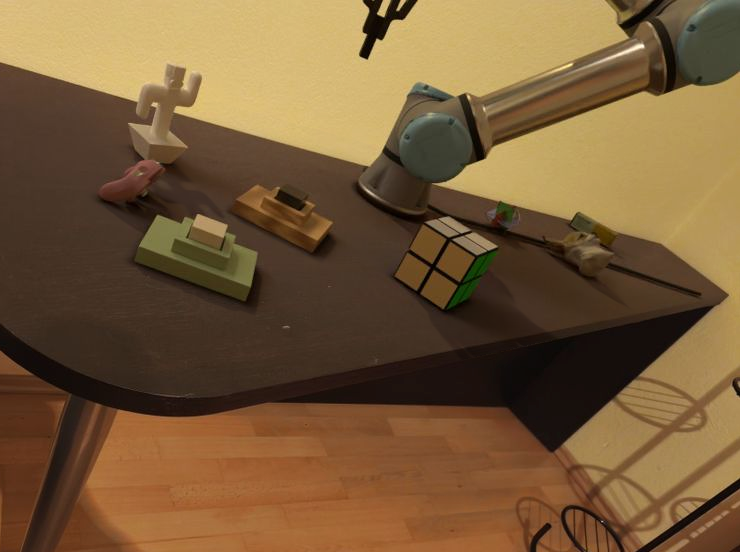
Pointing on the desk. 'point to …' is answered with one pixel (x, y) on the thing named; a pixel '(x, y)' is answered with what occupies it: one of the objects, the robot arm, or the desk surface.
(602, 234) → the medication box
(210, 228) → the white key
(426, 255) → the puzzle cube
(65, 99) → the desk surface
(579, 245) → the ceramic sculpture
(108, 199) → the pink rounded piece
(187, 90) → the figurine
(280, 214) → the wooden socket base
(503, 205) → the geometric puzzle
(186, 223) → the green stepped button base
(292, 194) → the black key
